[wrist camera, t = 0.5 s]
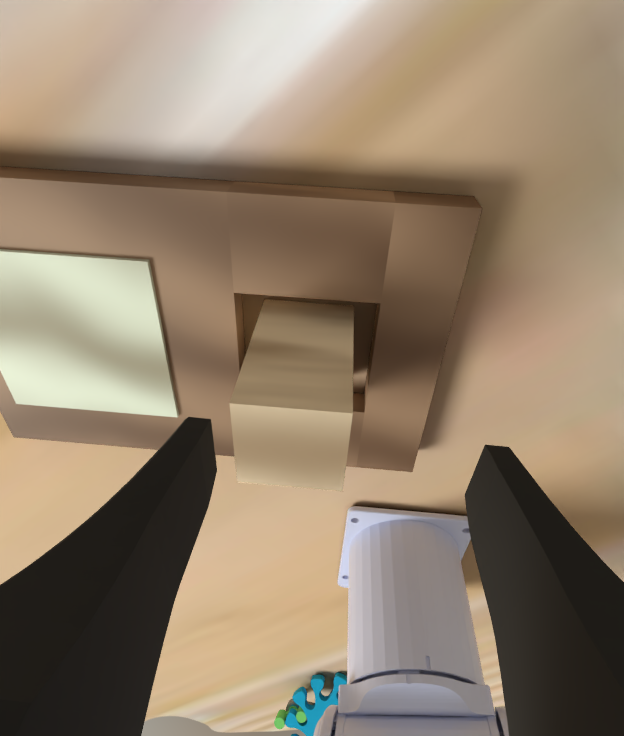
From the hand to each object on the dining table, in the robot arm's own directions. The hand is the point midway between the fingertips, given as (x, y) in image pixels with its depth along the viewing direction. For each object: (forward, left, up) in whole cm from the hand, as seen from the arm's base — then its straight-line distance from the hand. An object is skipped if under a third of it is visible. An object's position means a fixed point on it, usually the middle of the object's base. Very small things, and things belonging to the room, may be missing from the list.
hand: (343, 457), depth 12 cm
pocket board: (-3, +7, -9) cm, 12 cm away
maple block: (-3, +2, -10) cm, 10 cm away
